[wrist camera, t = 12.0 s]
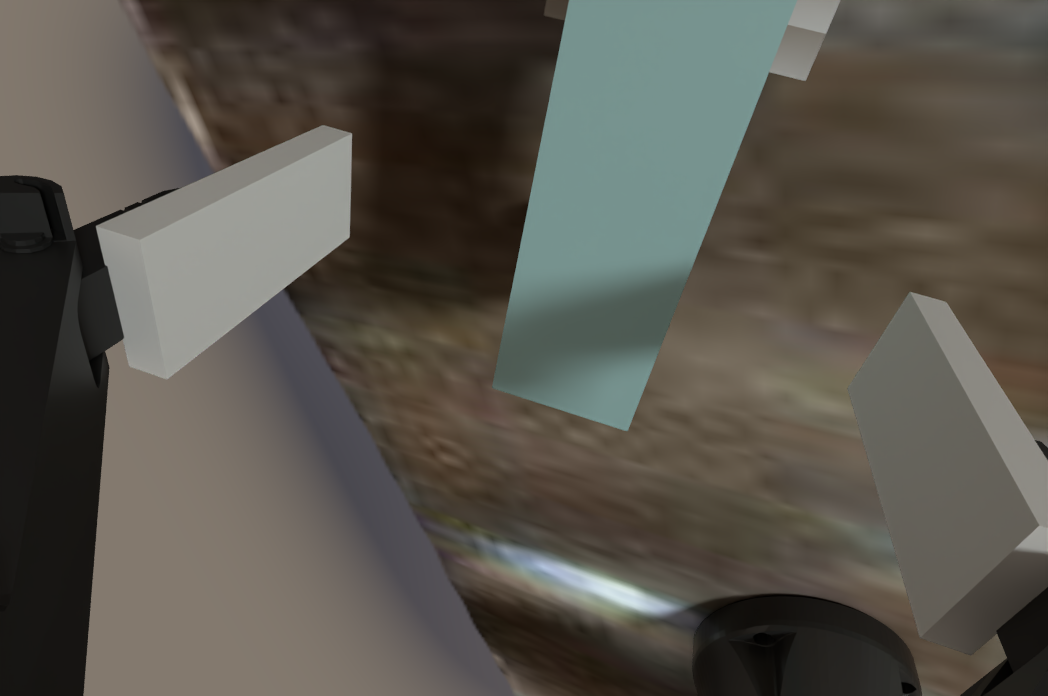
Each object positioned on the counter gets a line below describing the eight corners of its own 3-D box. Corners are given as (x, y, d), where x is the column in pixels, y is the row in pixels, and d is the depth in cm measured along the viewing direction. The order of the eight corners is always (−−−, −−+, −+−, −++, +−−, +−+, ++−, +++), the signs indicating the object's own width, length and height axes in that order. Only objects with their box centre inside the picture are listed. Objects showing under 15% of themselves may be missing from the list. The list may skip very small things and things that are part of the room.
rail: (658, 268, 32) (627, 431, 21) (565, 241, 32) (492, 388, 22) (793, -112, 22) (855, -149, 12) (660, -141, 23) (608, -201, 13)
